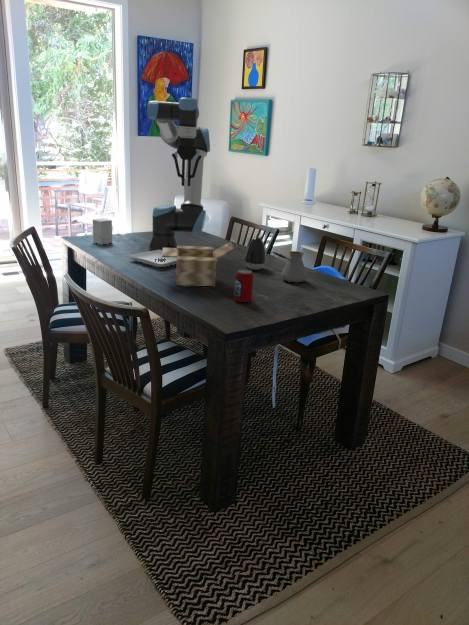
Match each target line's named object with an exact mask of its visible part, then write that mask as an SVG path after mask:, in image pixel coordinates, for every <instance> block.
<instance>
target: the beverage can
mask: <svg viewBox="0 0 469 625" xmlns="http://www.w3.org/2000/svg"><path fill="white" fill-rule="evenodd" d="M253 284H254V274H253V271H252V270H251V269H247V268H246V269H244V268H243V269H238V270H237V272H236V274H235V280H234V292H233V294H234V295H233V300H235V302H237V301H238V302H237V303H239V302H248V303H249V302H252V296H253Z"/></svg>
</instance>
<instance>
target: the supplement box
mask: <svg viewBox="0 0 469 625" xmlns="http://www.w3.org/2000/svg"><path fill="white" fill-rule="evenodd" d="M112 223H113V221H112V220H111V219H108V218H103V217H102V218H94V219H92V235H93V236H92V239H93V242H94V244H96V243H98V244H97V245H99V244H101V245H100V246H104V245H103V244H107V245H110V244H109V243H112V244H113V224H112Z"/></svg>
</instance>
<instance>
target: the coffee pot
mask: <svg viewBox="0 0 469 625" xmlns="http://www.w3.org/2000/svg"><path fill="white" fill-rule="evenodd" d="M288 253H289V257H287V256H285V255H283V254H281V253H278V252H277V251H273V252H271V254H274V255H273V257H275V256H278V258H282V259H283V260H287V262H286V264H285V265H284V268H283V269H282V271H281V273H280V274H281V277H282V279H284V281H285V280H286V281H288V282H287V283H289V282H301V283H302V282H304V281H305V280H306V279H307V277H308V275H307V272H306V268H305V266H304V262H303V256H304V252H302V251H297V250H296V251H294V250H293V251H292V250H291V251H289V252H288ZM286 281H285V282H286Z"/></svg>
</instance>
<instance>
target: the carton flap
mask: <svg viewBox="0 0 469 625" xmlns="http://www.w3.org/2000/svg"><path fill="white" fill-rule="evenodd" d="M234 251H235V248H234V246H233V244H232V241H229V242H227V243H225V244H223V245H222V246H220V247H218V248H216V249H214V252H215V256H216V258H217V260H219V259H220V258H222V257H224V256H226V255H228V254H230V253H232V252H234Z"/></svg>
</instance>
